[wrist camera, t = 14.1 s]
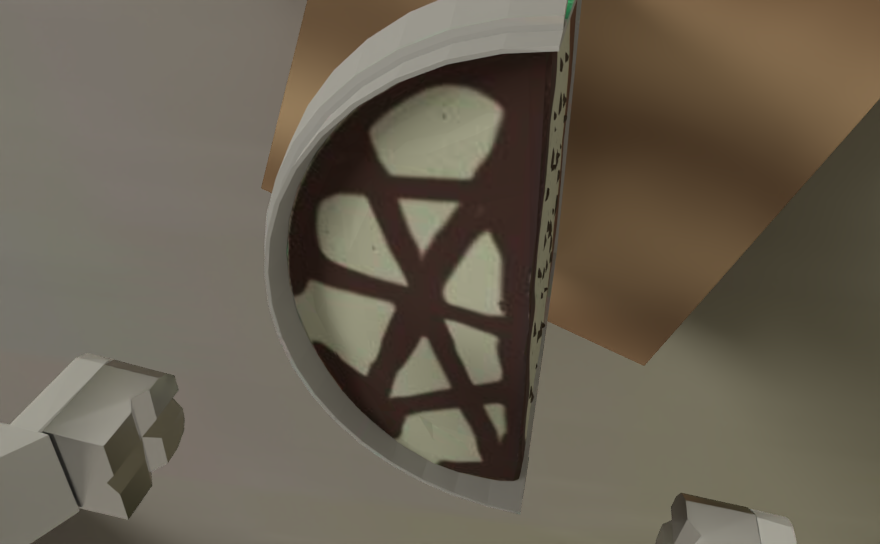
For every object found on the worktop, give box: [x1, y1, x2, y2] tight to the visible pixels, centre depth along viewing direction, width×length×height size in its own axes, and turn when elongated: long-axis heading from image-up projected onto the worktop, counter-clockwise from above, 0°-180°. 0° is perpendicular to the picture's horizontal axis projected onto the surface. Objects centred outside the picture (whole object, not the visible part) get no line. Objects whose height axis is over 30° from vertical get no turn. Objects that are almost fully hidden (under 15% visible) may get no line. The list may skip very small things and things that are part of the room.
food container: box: [264, 0, 582, 514], centre depth 17 cm, size 12×6×10 cm, turn 1°
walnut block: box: [261, 0, 880, 366], centre depth 23 cm, size 14×16×5 cm
